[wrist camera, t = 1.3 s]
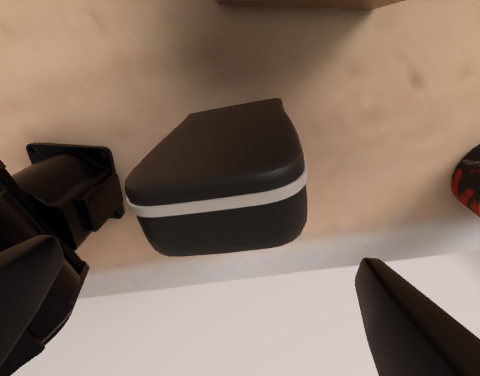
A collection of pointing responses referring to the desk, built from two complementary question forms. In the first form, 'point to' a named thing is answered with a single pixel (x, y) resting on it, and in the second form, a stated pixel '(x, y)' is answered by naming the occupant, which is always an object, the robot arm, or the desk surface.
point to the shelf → (316, 3)
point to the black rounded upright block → (223, 183)
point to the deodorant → (468, 181)
